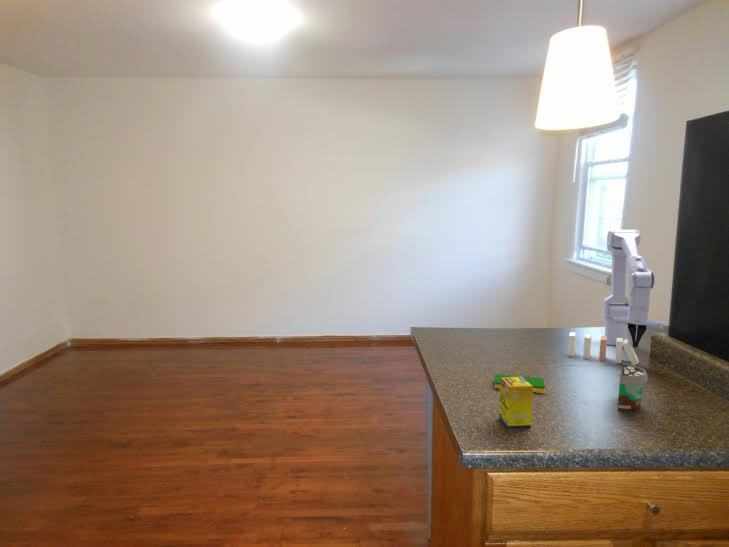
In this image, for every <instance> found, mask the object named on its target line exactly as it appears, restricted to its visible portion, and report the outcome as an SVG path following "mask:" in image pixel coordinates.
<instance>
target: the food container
mask: <svg viewBox="0 0 729 547" xmlns="http://www.w3.org/2000/svg"><path fill="white" fill-rule="evenodd" d="M647 382H648V374H647V372H646V370H645V369H644V368H642V367H641V366H638V365H637V364H636V365H633V364H632V363H628V362H623V361H622V365H621V373H620V375H619V386H618V398H617V399H618V401H617V411H619V410H621V411H620V412H627V411H631V412H637V411H639V410H640V409H641V403H642V398H643V393H644V392H643V391H644V387H645V386H644V385H645V384H646V383H647Z"/></svg>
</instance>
